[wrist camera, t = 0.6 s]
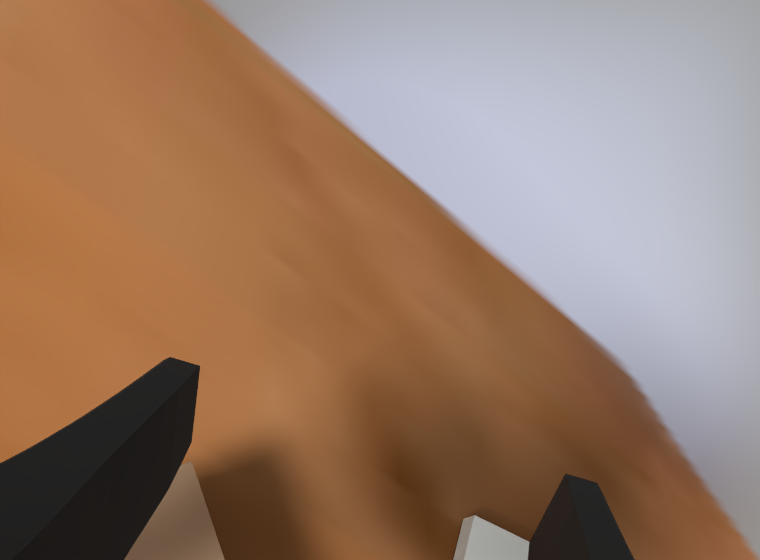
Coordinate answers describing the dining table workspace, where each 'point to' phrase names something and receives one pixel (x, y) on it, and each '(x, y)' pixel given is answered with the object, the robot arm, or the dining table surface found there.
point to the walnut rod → (179, 525)
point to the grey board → (488, 542)
